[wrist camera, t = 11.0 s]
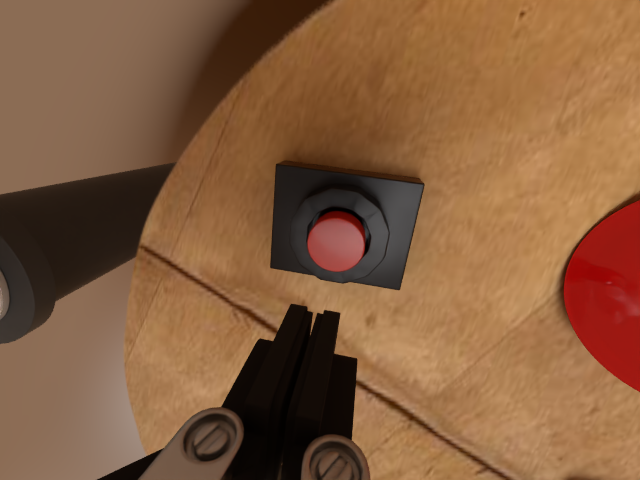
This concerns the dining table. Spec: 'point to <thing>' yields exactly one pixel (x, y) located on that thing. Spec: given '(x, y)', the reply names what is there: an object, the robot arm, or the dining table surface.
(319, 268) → the button block
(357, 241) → the button
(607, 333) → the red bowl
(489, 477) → the dining table surface
